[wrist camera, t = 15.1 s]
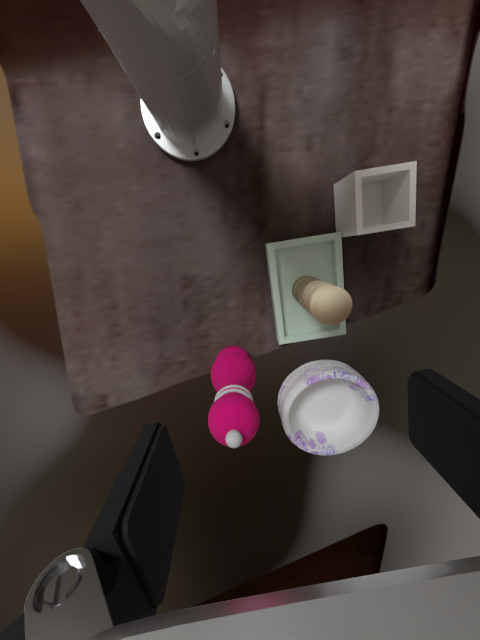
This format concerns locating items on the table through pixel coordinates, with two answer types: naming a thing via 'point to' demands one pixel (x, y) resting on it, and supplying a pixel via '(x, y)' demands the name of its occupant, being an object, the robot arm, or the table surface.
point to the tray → (292, 263)
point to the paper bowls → (327, 407)
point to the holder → (376, 200)
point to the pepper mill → (233, 398)
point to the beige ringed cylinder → (322, 300)
